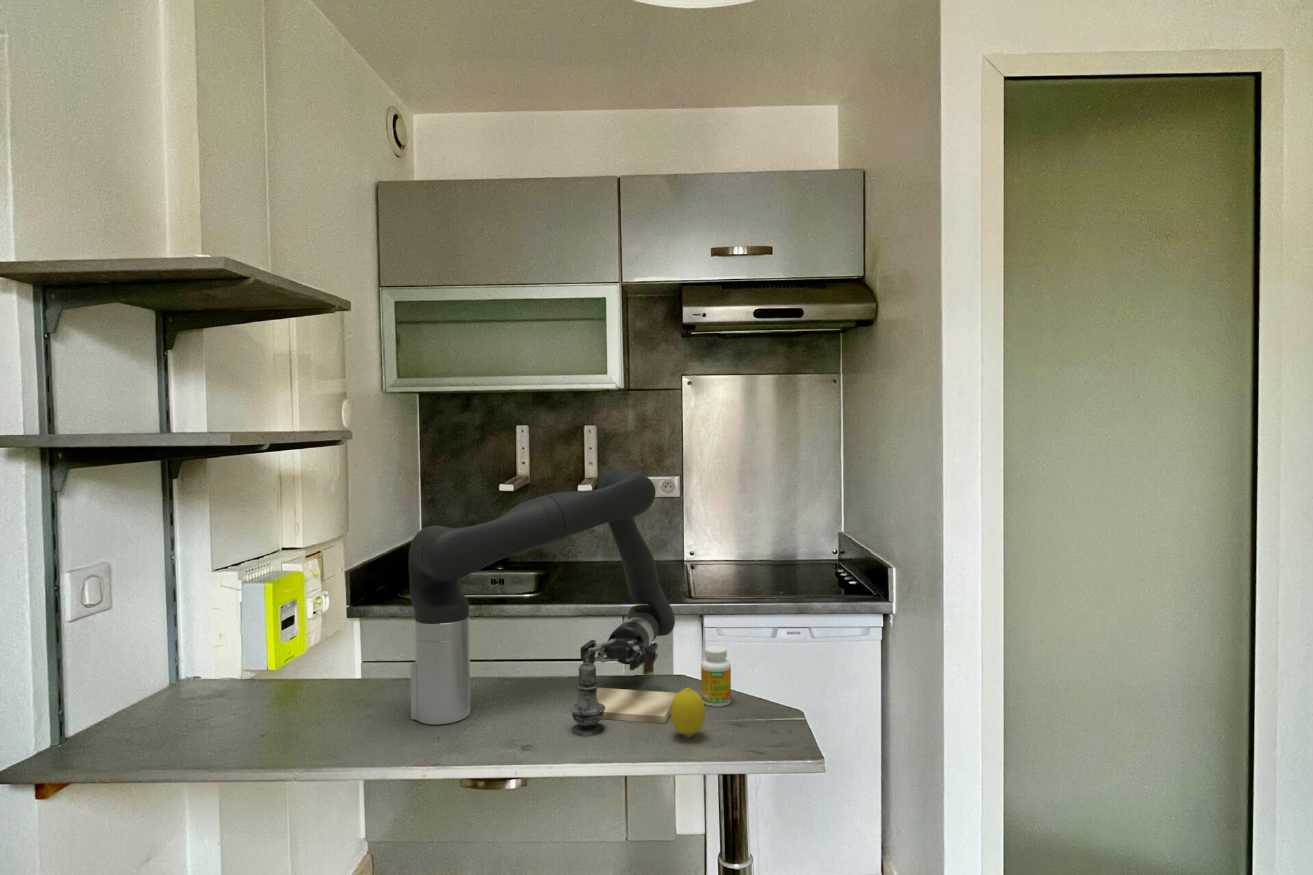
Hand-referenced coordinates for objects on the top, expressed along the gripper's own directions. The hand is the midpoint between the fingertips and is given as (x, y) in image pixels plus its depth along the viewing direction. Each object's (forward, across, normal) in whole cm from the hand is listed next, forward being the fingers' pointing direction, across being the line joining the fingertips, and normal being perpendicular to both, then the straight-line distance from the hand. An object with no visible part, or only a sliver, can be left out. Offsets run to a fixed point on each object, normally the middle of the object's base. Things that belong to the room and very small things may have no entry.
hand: (608, 663), depth 139 cm
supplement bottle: (-5, +19, +8) cm, 21 cm away
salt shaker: (+12, 0, +8) cm, 14 cm away
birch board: (+1, +4, +7) cm, 8 cm away
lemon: (+12, +17, +8) cm, 22 cm away
